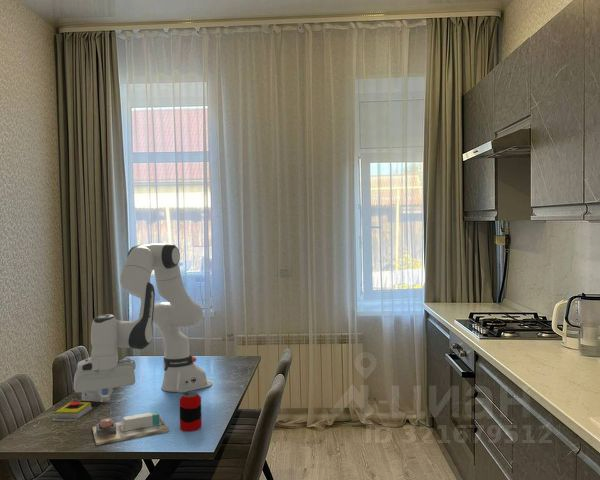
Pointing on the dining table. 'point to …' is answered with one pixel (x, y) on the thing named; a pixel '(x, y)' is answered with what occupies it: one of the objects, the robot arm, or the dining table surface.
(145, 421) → the marker
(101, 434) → the board
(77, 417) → the emergency button
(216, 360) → the dining table surface
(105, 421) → the button
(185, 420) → the soda can
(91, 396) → the ink cartridge box
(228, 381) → the dining table surface
